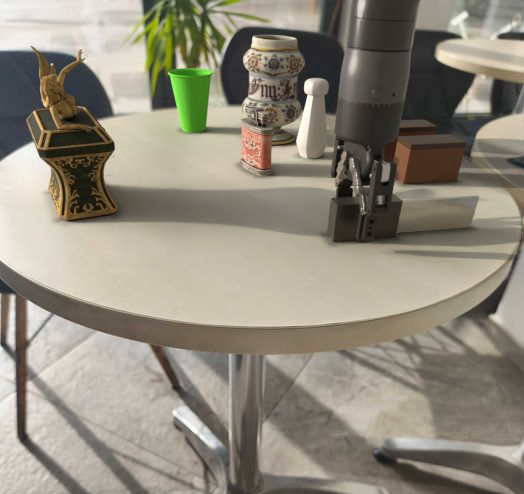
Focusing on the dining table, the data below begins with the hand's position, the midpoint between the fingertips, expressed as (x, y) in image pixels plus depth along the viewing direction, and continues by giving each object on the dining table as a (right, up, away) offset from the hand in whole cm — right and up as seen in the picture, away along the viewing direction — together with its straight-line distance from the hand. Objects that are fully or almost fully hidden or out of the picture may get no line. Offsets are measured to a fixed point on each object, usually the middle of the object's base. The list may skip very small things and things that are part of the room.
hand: (352, 227), depth 66 cm
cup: (-27, +31, +41) cm, 58 cm away
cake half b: (+14, +20, +28) cm, 37 cm away
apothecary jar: (-10, +27, +37) cm, 47 cm away
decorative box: (-40, +7, +9) cm, 41 cm away
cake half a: (+16, +14, +20) cm, 29 cm away
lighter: (-13, +16, +22) cm, 30 cm away
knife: (+7, 0, +2) cm, 8 cm away
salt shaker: (-3, +21, +29) cm, 35 cm away
